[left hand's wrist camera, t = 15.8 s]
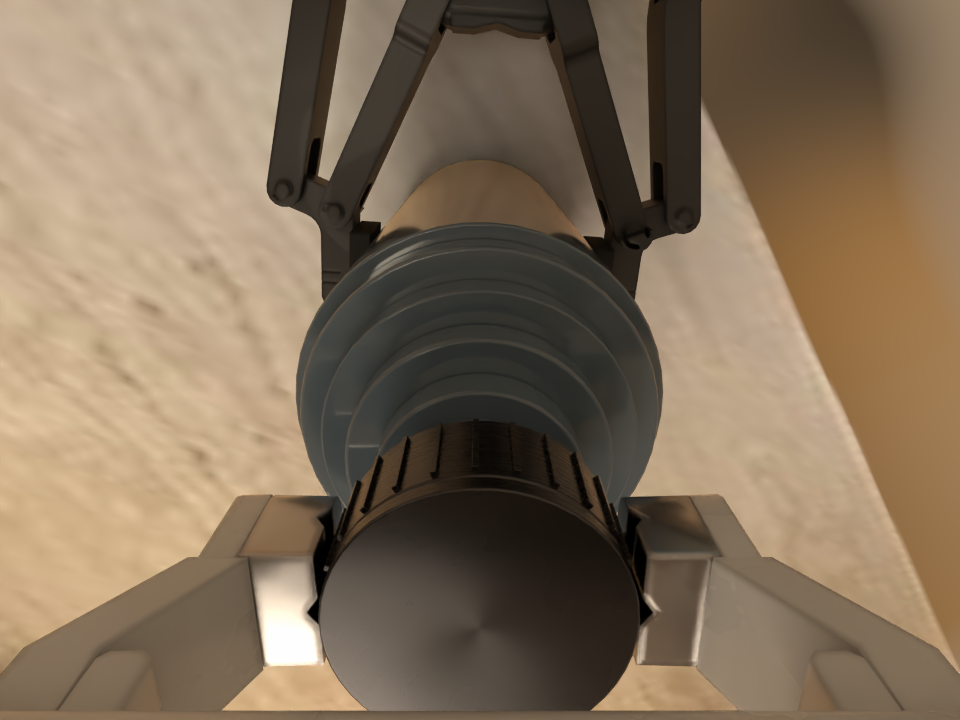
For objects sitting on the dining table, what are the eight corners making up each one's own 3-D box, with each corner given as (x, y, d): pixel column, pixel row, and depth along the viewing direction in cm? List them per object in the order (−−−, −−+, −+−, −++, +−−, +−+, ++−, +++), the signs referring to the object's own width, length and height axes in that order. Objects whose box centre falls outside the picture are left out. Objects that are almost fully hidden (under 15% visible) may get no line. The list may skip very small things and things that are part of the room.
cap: (510, 685, 11) (515, 792, 10) (291, 568, 10) (253, 661, 9) (672, 510, 10) (713, 595, 8) (440, 361, 9) (431, 420, 7)
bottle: (377, 299, 33) (130, 748, 10) (422, 135, 31) (232, 215, 7) (530, 346, 34) (643, 863, 11) (588, 191, 32) (906, 425, 8)
